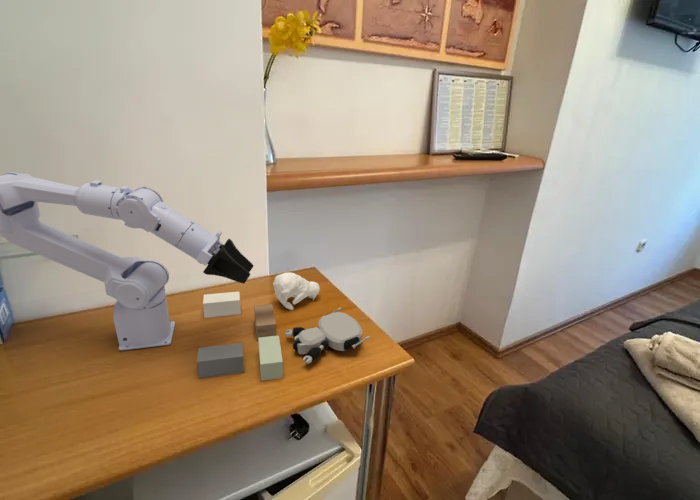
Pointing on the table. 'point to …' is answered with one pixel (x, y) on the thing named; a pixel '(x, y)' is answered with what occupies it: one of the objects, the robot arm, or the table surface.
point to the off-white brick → (221, 304)
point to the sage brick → (270, 358)
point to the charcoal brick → (220, 360)
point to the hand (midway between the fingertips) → (249, 274)
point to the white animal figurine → (294, 288)
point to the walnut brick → (264, 321)
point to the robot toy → (327, 335)
